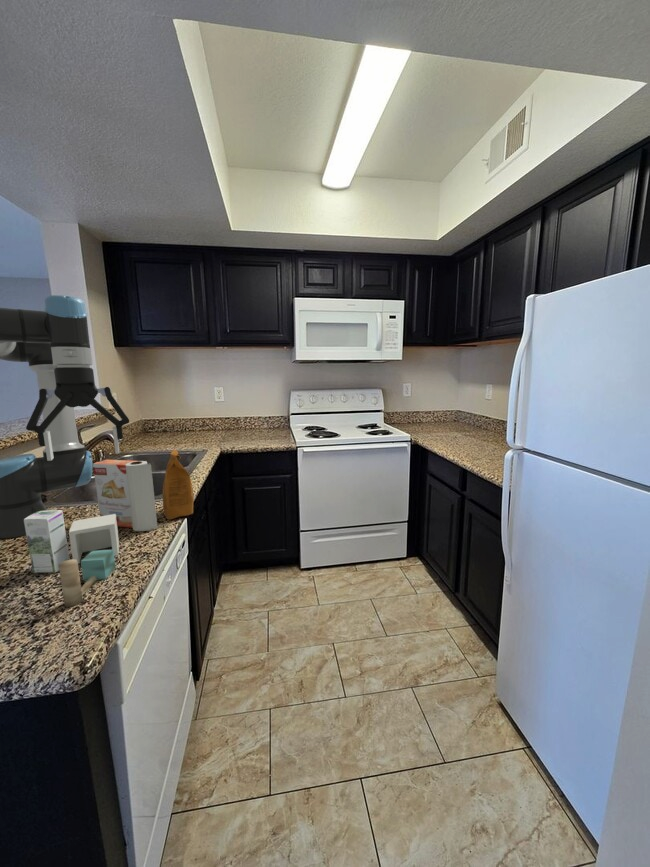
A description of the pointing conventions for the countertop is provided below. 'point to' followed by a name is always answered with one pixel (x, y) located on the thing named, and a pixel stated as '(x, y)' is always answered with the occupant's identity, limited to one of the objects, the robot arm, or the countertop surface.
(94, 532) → the cubby
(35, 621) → the countertop surface
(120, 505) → the cracker box
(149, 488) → the paper towel roll
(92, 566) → the tethered block
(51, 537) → the syrup box
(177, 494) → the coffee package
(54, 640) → the countertop surface
